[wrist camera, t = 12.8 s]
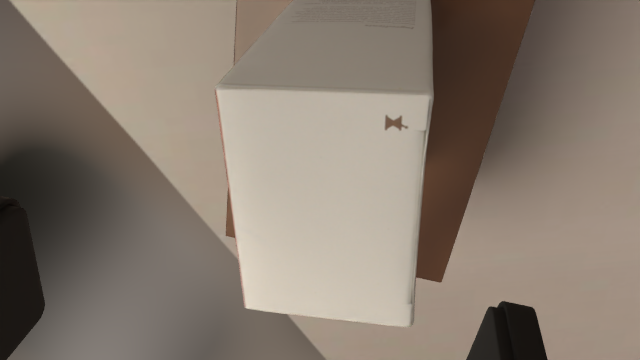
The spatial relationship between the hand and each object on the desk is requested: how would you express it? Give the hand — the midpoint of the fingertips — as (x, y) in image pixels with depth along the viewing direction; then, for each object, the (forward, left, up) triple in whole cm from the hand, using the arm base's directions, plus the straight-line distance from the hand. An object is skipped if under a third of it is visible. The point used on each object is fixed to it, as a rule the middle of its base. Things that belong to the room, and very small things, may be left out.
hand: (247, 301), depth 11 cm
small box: (+1, -1, -15) cm, 15 cm away
